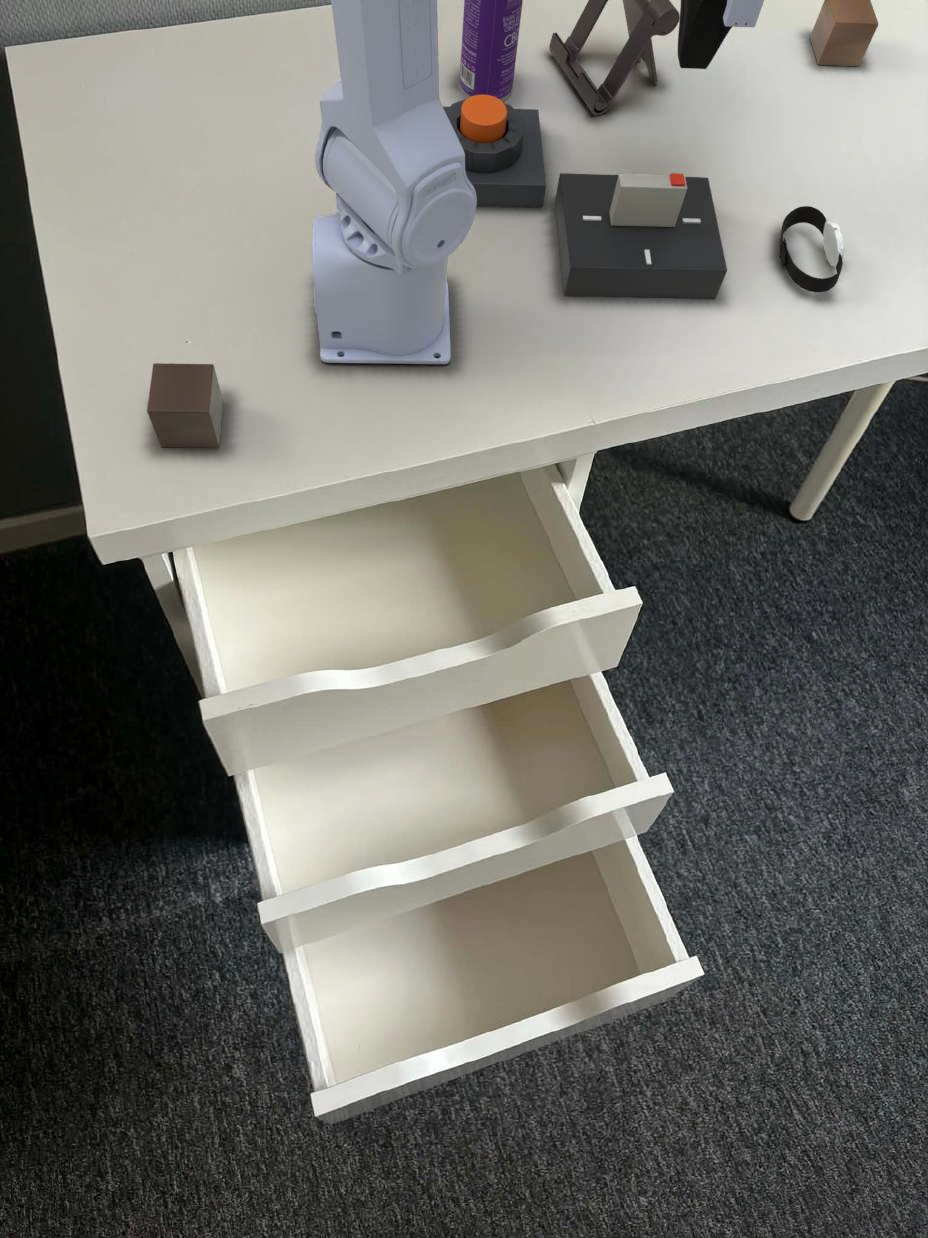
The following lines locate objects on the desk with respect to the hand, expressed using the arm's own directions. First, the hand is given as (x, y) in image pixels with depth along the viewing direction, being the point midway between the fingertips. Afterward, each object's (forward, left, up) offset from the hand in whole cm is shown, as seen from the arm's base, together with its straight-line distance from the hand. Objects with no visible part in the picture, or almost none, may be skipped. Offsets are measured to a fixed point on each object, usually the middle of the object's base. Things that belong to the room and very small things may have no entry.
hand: (692, 62), depth 70 cm
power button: (-15, +1, -7) cm, 17 cm away
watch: (+11, -9, -11) cm, 18 cm away
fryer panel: (-3, -8, -10) cm, 13 cm away
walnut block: (-36, -25, -10) cm, 45 cm away
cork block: (+19, +18, -10) cm, 28 cm away
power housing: (-15, +1, -10) cm, 18 cm away
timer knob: (-3, -8, -7) cm, 11 cm away
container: (-14, +11, -11) cm, 21 cm away
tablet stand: (-3, +13, -11) cm, 17 cm away
